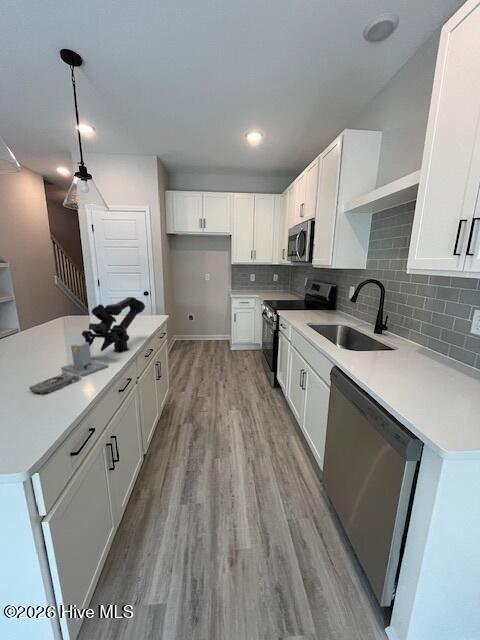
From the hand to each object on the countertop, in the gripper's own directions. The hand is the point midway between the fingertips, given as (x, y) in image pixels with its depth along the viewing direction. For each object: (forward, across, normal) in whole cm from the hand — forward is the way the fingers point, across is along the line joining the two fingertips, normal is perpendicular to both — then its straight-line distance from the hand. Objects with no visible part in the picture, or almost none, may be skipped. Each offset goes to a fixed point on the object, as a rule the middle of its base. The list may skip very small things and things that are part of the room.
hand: (93, 350), depth 135 cm
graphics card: (+23, 0, -12) cm, 26 cm away
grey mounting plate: (+9, -1, +1) cm, 10 cm away
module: (+10, 0, -1) cm, 10 cm away
